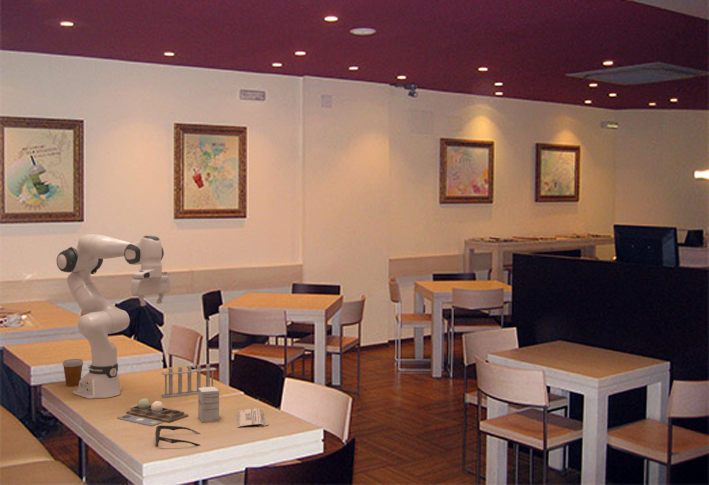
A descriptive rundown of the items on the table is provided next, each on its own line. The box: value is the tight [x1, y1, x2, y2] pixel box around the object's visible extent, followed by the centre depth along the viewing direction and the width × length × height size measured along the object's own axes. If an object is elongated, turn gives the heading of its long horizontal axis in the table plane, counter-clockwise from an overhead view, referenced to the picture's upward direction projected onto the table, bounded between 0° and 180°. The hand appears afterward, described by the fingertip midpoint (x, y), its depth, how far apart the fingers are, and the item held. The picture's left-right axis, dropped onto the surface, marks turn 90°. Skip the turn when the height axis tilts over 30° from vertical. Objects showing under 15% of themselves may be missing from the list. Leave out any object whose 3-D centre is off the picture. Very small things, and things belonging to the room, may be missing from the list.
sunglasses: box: [155, 424, 201, 447], centre depth 262 cm, size 16×17×5 cm
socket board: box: [125, 404, 189, 424], centre depth 295 cm, size 25×11×2 cm, turn 60°
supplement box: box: [197, 386, 220, 423], centre depth 290 cm, size 7×7×13 cm
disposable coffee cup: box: [62, 358, 84, 388], centre depth 344 cm, size 10×10×12 cm
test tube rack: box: [161, 363, 217, 399], centre depth 330 cm, size 25×4×13 cm, turn 119°
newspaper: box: [237, 407, 269, 428], centre depth 291 cm, size 23×12×2 cm, turn 9°
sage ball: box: [137, 397, 151, 410], centre depth 299 cm, size 5×5×5 cm
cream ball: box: [150, 400, 164, 413], centre depth 295 cm, size 5×5×5 cm
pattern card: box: [116, 414, 164, 427], centre depth 287 cm, size 20×6×1 cm, turn 60°
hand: (151, 304), depth 309 cm, fingers open, 8 cm apart
